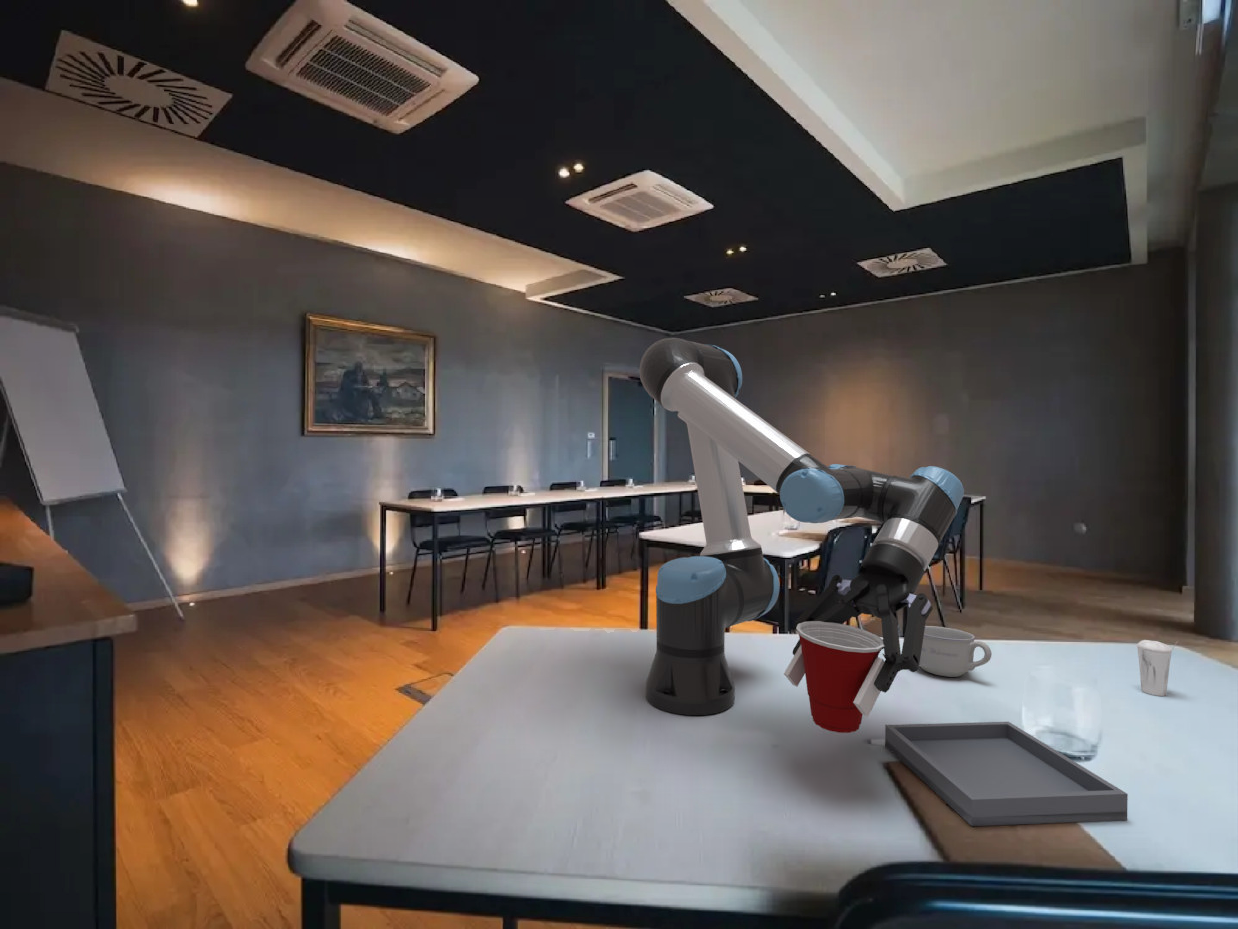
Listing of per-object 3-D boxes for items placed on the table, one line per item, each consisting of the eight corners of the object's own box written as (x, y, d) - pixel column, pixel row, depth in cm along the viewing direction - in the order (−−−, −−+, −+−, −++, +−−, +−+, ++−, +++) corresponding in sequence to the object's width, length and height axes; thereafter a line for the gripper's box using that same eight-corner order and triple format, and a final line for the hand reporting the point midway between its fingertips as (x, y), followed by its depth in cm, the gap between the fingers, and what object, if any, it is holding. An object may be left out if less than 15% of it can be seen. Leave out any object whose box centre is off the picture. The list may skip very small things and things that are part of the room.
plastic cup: (893, 748, 70) (895, 648, 70) (798, 738, 72) (800, 641, 72) (872, 709, 80) (875, 622, 80) (790, 701, 83) (792, 616, 82)
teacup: (899, 666, 117) (899, 626, 117) (937, 659, 122) (937, 621, 121) (964, 692, 104) (964, 647, 104) (1004, 683, 109) (1005, 640, 109)
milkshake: (1175, 701, 101) (1176, 643, 101) (1134, 692, 105) (1135, 636, 105) (1179, 694, 104) (1179, 638, 104) (1138, 685, 108) (1139, 631, 108)
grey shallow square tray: (971, 826, 66) (971, 799, 66) (885, 745, 84) (885, 725, 84) (1127, 820, 67) (1127, 794, 67) (1008, 742, 86) (1008, 721, 86)
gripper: (992, 592, 75) (921, 747, 67) (839, 562, 94) (769, 681, 85) (973, 554, 72) (896, 711, 64) (819, 531, 91) (744, 651, 82)
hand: (823, 694), depth 74 cm, fingers closed on plastic cup, 10 cm apart
